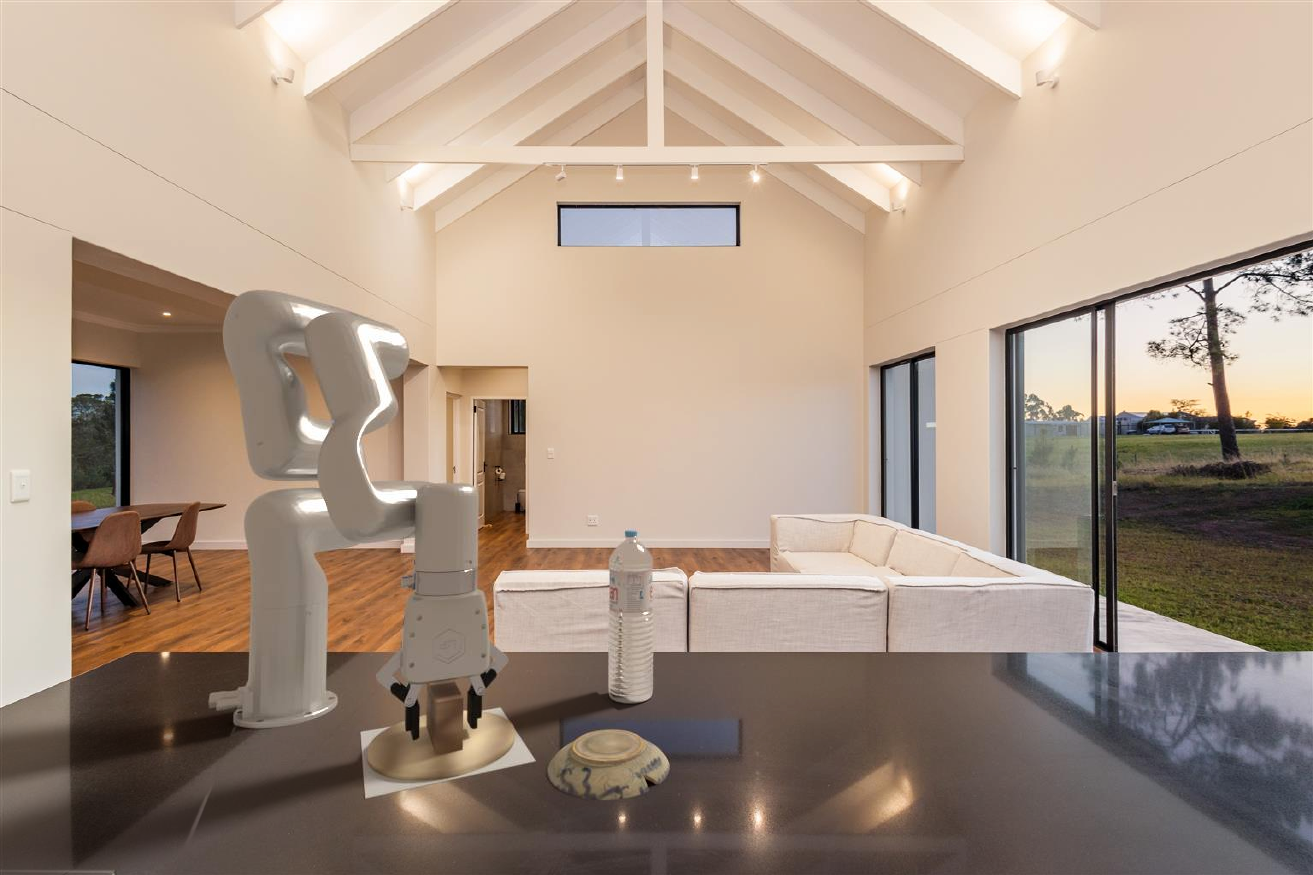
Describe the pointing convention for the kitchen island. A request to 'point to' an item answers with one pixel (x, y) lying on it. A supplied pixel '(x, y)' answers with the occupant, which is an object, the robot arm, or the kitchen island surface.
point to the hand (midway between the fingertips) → (443, 728)
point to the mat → (387, 785)
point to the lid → (441, 740)
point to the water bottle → (630, 622)
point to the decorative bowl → (607, 765)
